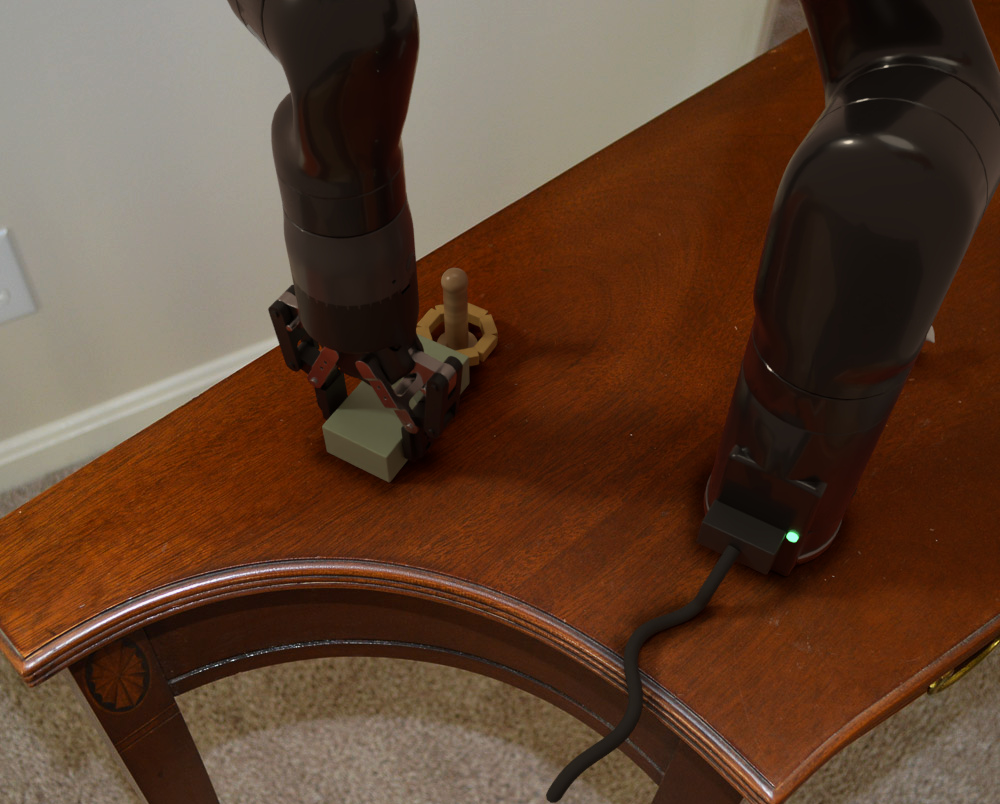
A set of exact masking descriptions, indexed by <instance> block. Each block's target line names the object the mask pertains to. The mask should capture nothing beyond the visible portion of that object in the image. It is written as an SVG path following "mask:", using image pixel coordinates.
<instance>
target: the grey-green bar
mask: <svg viewBox="0 0 1000 804" xmlns="http://www.w3.org/2000/svg"><path fill="white" fill-rule="evenodd" d="M442 323H445V322H444V303H442V304H437V305H435V306H434V308H430V309H429V310H427V312H426V313H425V314H424V315H423V316H422V318H421V319H420V320H419V321H417V327H416V333H417V336H418V338H419V340H420V342H421V343H422V345H423V348H424V353H426V354H427V355H429V356H431V357H433V358H435V359H437V360H439V361H441V362H444V361H445V360H446V359H447V357H448V356H454V357H456V358H457V359H459V360H460V361H461V363H462V365H463V372H462V382H461V392H460V395H462V394H463V392H464V391H465V389H467V387H468V386H469V384H470V367H473V366H478V365H480V362H483V363H484V362H485V361H486V359H487V358H488V357H489V355H490V354H491V353H492V352H493V351H494V350H495V348H496V347H497V346H498V341H499V339H498V338H499V333H498V328H497V327H496V323H495V320H494V318H493V315H492V314H491V313H490V314H489V311H488V310H487V309H484V308H481V307H480V306H478V305H475V304H473V303H470V302H468V323H470V324H472V325H474V326H477V327H479V329H480V332H481V335H482V336H481V338H479V340H477V344H476V345H475V346H474V347H472V348H467V349H461V350H456V351H455V350H453V349H450V348H448V347H446V346H444V345H441V344H439V343H437V341H434V340H433V336H432V333H433V332H434V331H435V330H436V329H437V327H438V326H439V325H441V324H442ZM403 378H404V377H403ZM403 378H402V379H403ZM402 379H400V380H399V381H398V382H396V383H395V384H393V385H392V388H393V390H394V389H395V388H396V387H397V385H398V384H399V383H400V382H401V381H402ZM416 404H417V403H416V401H415V400H414V398H413V397H412V398H411V400H410V401H409V406H410V407H411V409H413V408H414V407H415V405H416ZM402 426H403V425H402V423H401V422H400V420H399V418H398V417H397V415H396V413H395V412H394V410H393V409H386V408H385V407H384V406H383V404H382V402H381V401H380V399H379V397H378V396H377V394H376V393H375V391H374V389H373V388H372V386H370V385H368V384H367V383H365V382H364V381H362V380H360V382H359V384H358V385H357V386H356V387H355V388H354V389H353V390H352V392H351V393H350V394H348V397H347V398H346V400H345V401H344V402H343V403H342V404H341V405H340V406H339V408H338V409H337V410H336V411H335V412H334V413H333V414H332V415H331V417H330V418H329V419H328V420H325V422H324V423H323V424H322V426H321V429H322V434H323V438H324V439H323V440H324V445H325V448H326V449H325V450H326V452H327V453H328V454H330V455H333V456H334V457H336V458H339V459H341V460H342V461H345V462H347V463H348V464H351V465H352V466H355V467H357V468H358V469H361V470H362V471H364V472H367V473H369V474H371V475H373V476H375V477H377V478H379V479H380V480H382V481H385V482H387V483H388V484H389V483H391V482H392V481H393V480H394V478H395V477H396V475H397V474H398V473H399V472H400V471H401V469H402V468H403V467H404V466H405V464H406V463H407V462H408V461H409V460H408V459H406V458H404V452H403V442H402V433H401V427H402Z"/></svg>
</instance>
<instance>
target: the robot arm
mask: <svg viewBox="0 0 1000 804" xmlns="http://www.w3.org/2000/svg"><path fill="white" fill-rule="evenodd" d="M226 1H227V4H228V5H229V7H230V9H231V11H232V13H233V14H234V15H235V17H236V18H237V19H238V21H239V22H240V23H241V24H242V25H243V26H244V28H245V29H246V30H248V32H250V34H251V35H252V36H253V37H254V38H256V40H257V41H258V42H259V43H260V44H261V45H262V46H263V47H264V48H265V49H266V51H268V53H269V54H270V55H271V56H272V57H273V58H274V59H275V60H276V61H277V62H278V63H279V64H280V65H281V68H282V70H283V72H284V76H285V78H286V81H287V84H288V88H289V91H290V92H288V93H287V94H286V95H285V96H284V97H283V98H282V100H281V101H280V102H279V103H278V105H277V107H276V109H275V111H274V113H273V116H272V120H271V125H270V142H271V143H270V145H271V153H272V159H273V164H274V168H275V173H276V178H277V179H276V180H277V185H278V189H279V194H280V195H279V196H280V200H281V204H282V213H283V236H284V242H285V248H286V253H287V258H288V263H289V268H290V273H291V274H290V275H291V279H292V284H291V285H290V286H289V287H288V288H287V289H286V290H285V291H284V292H283V293H282V294H281V295H279V296H278V298H276V300H275V301H274V302H273V303H272V304H271V305H270V306H269V307H268V309H267V310H268V314H269V317H270V320H271V323H272V326H273V330H274V332H275V336H276V338H277V342H278V345H279V348H280V351H281V354H282V357H283V360H284V363H285V366H286V367H287V368H288V369H290V370H291V371H292V372H294V373H298V372H299V371H302V372H304V373H305V374H306V375H307V376H306V379H307V381H308V383H309V384H310V385H312V386H313V388H314V394H315V398H316V403H317V406H318V407H319V410H321V412H322V417H323V419H324V420H325V421H327V420H328V419H329V418H330V417H331V415H332V414H333V413H334V412H335V411H336V410H337V409H338V408H339V406H340V405H341V404H342V403H343V402H344V401H345V400H346V398H347V397H348V396H349V394H348V389H347V384H346V376H349V377H351V378H354V379H358V380H360V381H364V382H365V383H367V384H368V385H370V386H372V388H373V389H374V391H375V393H376V394H377V396H378V397H379V399H380V401H381V402H382V404H383V406H384V407H385V408H386V409H393V410H394V412H395V413H396V415H397V417H398V418H399V420H400V422H401V423H402V425H403V426H402V427H401V433H402V442H403V452H404V458H406V459H408V461H410V462H412V463H415V462H416V461H417V460H418V459H422V458H423V457H424V456H425V454H426V453H427V452H428V451H429V449H430V448H431V447H432V446H433V444H434V443H435V440H437V439H439V438H440V437H441V436H442V434H443V433H444V431H445V429H446V428H447V427H448V426H449V425H450V423H451V422H452V421H453V420H454V419H455V418H456V417H457V415H459V412H460V411H459V410H460V400H461V394H460V392H461V382H462V372H463V365H462V363H461V361H460V360H459V359H457V358H456V357H454V356H448V357H447V359H446V360H445V361H444V362H441V361H439V360H437V359H435V358H433V357H431V356H429V355H427V354H426V353H424V348H423V345H422V343H421V342H420V340H419V338H418V336H417V333H416V328H417V324H418V322H419V321H418V320H419V313H420V295H419V294H420V293H419V282H418V280H419V279H418V269H417V255H416V241H415V240H416V239H415V228H414V221H413V216H412V211H411V207H410V204H409V200H408V199H409V198H408V192H407V179H406V168H405V167H406V166H405V165H406V164H405V154H404V145H403V139H402V136H403V131H404V127H405V125H406V120H407V117H408V113H409V110H410V104H411V99H412V98H411V97H412V93H413V87H414V82H415V77H416V72H417V67H418V63H419V56H420V47H421V34H420V33H421V32H420V31H421V28H420V19H419V14H418V9H417V5H416V1H415V0H226ZM797 2H798V5H799V7H800V10H801V13H802V15H803V19H804V21H805V24H806V27H807V31H808V33H809V38H810V40H811V44H812V47H813V51H814V54H815V58H816V62H817V65H818V70H819V74H820V77H821V83H822V88H823V94H824V109H823V110H822V111H821V113H820V115H819V116H818V118H817V119H816V121H815V122H814V124H813V125H812V127H811V128H810V129H809V131H808V132H807V134H806V135H805V136H804V138H803V139H802V141H801V142H800V144H799V145H798V146H797V148H796V149H795V151H794V153H793V154H792V156H791V158H790V159H789V161H788V163H787V165H786V167H785V169H784V172H783V173H782V177H781V179H780V181H779V184H778V188H777V191H776V193H775V197H774V200H773V204H772V208H771V212H770V215H769V219H768V223H767V228H766V232H765V236H764V237H765V238H764V241H763V245H762V246H763V247H762V249H761V254H760V258H759V263H758V268H757V273H756V276H755V281H754V285H753V291H752V302H753V309H754V317H753V318H754V319H753V322H752V326H751V329H750V332H749V336H748V340H747V344H746V347H745V350H744V353H743V357H742V359H741V360H742V361H741V363H740V367H739V371H738V376H737V378H736V381H735V385H734V390H733V393H732V397H731V401H730V404H729V407H728V411H727V416H726V419H725V422H724V425H723V430H722V432H721V436H720V440H719V444H718V448H717V451H716V455H715V459H714V464H713V467H712V471H711V473H710V475H709V478H708V480H707V482H706V486H705V490H704V495H703V502H702V503H703V504H702V505H703V512H704V517H703V519H702V521H701V523H700V527H699V531H698V534H697V538H696V543H697V544H699V545H701V546H703V547H705V548H707V549H710V550H712V551H714V552H716V553H718V554H720V555H721V556H720V557H719V559H718V560H717V562H716V564H715V565H714V566H713V568H712V570H711V571H710V573H709V574H708V576H707V577H706V579H705V580H704V582H703V583H702V585H701V587H700V589H699V590H698V592H697V593H696V595H695V597H694V598H693V599H692V600H690V602H688V603H687V604H686V605H684V606H683V607H681V608H679V609H677V610H674V611H671V612H669V613H666V614H662V615H659V616H657V617H654V618H652V619H649V620H647V621H645V622H643V623H642V624H641V625H639V626H638V627H637V628H636V629H634V631H633V632H632V634H630V636H629V638H628V640H627V641H626V644H625V647H624V650H623V652H624V653H623V670H624V676H625V677H624V678H625V683H626V688H627V696H628V697H627V700H628V701H627V706H626V710H625V713H624V714H623V716H622V718H621V720H620V721H619V723H618V724H617V725H616V726H615V727H614V728H613V730H611V732H609V733H608V734H607V735H605V736H604V737H603V738H602V739H599V741H597V742H595V743H594V744H592V745H591V746H589V747H588V748H587V749H585V750H583V751H582V752H581V753H580V754H578V755H577V756H575V757H574V758H573V759H572V760H571V761H570V762H569V763H568V764H566V765H565V767H564V768H563V769H562V770H561V771H560V772H559V774H558V775H557V776H556V777H555V779H554V780H553V781H552V783H551V785H550V786H549V788H548V789H547V792H546V794H545V797H546V798H545V799H546V801H548V802H549V803H550V804H553V803H554V804H557V803H558V802H559V801H561V800H562V798H563V797H564V795H565V794H566V792H567V791H568V789H569V788H570V787H571V785H572V784H573V783H574V782H575V781H576V780H577V779H578V778H579V777H580V776H581V775H582V774H583V773H584V772H586V770H588V769H589V768H590V767H592V766H593V765H594V764H596V763H598V762H599V761H601V760H602V759H603V758H604V757H606V756H608V755H610V754H611V753H612V752H614V751H615V750H616V749H618V748H619V747H620V746H621V745H622V744H623V743H625V741H626V740H627V739H628V738H629V737H630V736H631V734H632V733H633V732H634V731H635V728H636V726H637V725H638V723H639V721H640V719H641V715H642V713H643V712H642V711H643V706H644V692H643V691H644V690H643V684H642V678H641V674H640V669H639V654H640V651H641V649H642V646H644V643H645V642H646V641H648V639H649V638H650V637H652V636H653V635H656V634H657V633H659V632H662V631H665V630H667V629H670V628H673V627H676V626H678V625H681V624H683V623H686V622H688V621H689V620H691V619H692V618H694V617H695V616H697V615H698V614H699V613H701V612H702V611H703V610H704V609H705V608H706V607H707V606H708V604H709V603H710V601H711V600H712V599H713V597H714V595H715V593H716V592H717V590H718V589H719V588H720V586H721V585H722V583H723V581H724V579H726V577H727V575H728V573H729V572H730V570H731V568H732V567H733V565H734V564H735V563H736V562H737V563H740V564H741V565H744V566H746V567H748V568H750V569H752V570H755V571H757V572H759V573H761V574H763V575H765V576H767V575H768V574H769V572H770V571H772V572H774V573H777V574H779V575H781V576H783V577H788V576H790V574H791V572H792V570H793V569H794V567H795V566H798V565H802V564H806V563H808V562H811V561H812V560H814V559H817V558H818V557H820V556H821V555H822V554H824V553H825V552H826V551H827V550H828V549H829V548H830V546H831V545H832V544H833V542H834V540H835V538H836V537H837V535H838V532H839V530H840V528H841V526H842V522H843V518H844V515H845V513H846V512H847V509H848V507H849V505H850V502H851V500H853V499H854V497H855V495H856V492H857V490H858V485H859V483H860V481H861V478H862V476H863V474H864V472H865V470H866V468H867V466H868V463H869V462H870V461H871V457H872V456H873V453H874V452H875V449H876V447H877V445H878V442H879V440H880V438H881V436H882V434H883V432H884V430H885V428H886V426H887V423H888V421H889V420H890V416H891V414H892V412H893V410H894V408H895V406H896V404H897V402H898V400H899V398H900V397H901V394H902V391H903V389H904V387H905V385H906V384H907V381H908V379H909V376H910V374H911V373H912V371H913V368H914V366H915V363H916V362H917V360H918V357H919V355H920V353H921V352H922V350H923V348H924V345H925V343H926V342H927V341H926V337H927V334H928V332H929V330H930V327H931V325H932V326H933V324H934V321H935V319H936V317H937V314H938V313H939V310H940V309H941V306H942V305H943V302H944V300H945V298H946V296H947V293H948V291H949V289H950V288H951V285H952V283H953V281H954V279H955V276H956V275H957V273H958V270H959V269H960V267H961V264H962V262H963V260H964V257H965V256H966V253H967V251H968V249H969V247H970V244H971V242H972V241H973V238H974V235H975V234H976V231H977V230H978V227H979V225H980V223H981V221H982V219H983V217H984V215H985V213H986V212H987V210H988V207H989V205H990V203H991V201H992V199H993V197H994V195H995V193H996V191H997V189H998V187H999V185H1000V70H999V67H998V64H997V62H996V59H995V56H994V54H993V51H992V48H991V46H990V44H989V41H988V39H987V37H986V33H985V31H984V29H983V27H982V24H981V21H980V20H979V16H978V14H977V11H976V9H975V6H974V3H973V0H797ZM299 342H300V344H299ZM320 348H321V350H320ZM345 375H346V376H345ZM403 377H404V378H403ZM402 378H403V379H402ZM400 379H402V381H401V382H400V383H399V384H398V385H397V387H396V388H395V389H394V390H393V388H392V385H393V384H395V383H396V382H398V381H399V380H400ZM412 397H413V398H414V400H415V401H416V403H417V404H416V405H415V407H414V408H413V409H411V407H410V406H409V401H410V400H411V398H412Z"/></svg>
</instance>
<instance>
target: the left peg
mask: <svg viewBox="0 0 1000 804" xmlns="http://www.w3.org/2000/svg"><path fill="white" fill-rule="evenodd" d="M469 282H470V281H469V277H468V274H467V273H466V271H464V270H463V269H461V268H459V267H450V268H448V269H446V271H444V273H443V274H442V275H441V279H440V284H441V285H440V286H441V288H442V300H443V304H444V322H443V323H444V332H443V333H441V334H440V336H439V337H438V339H437V340H436V342H437V343H439V344H441V345H444V346H446V347H448V348H450V349H453V350H455V351H456V350H461V349H467V348H472V347H474V346H475V345H476V344H477V342H478V339H477V337H476V336H475V335H474V334H473V333H472V332H471V331H469V322H468V303H469V301H468V296H469V295H468V294H469V293H468V287H469Z"/></svg>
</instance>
